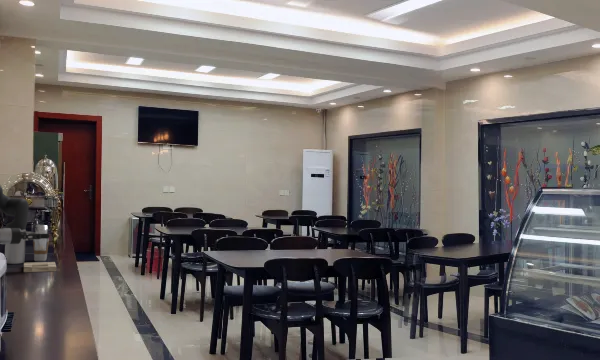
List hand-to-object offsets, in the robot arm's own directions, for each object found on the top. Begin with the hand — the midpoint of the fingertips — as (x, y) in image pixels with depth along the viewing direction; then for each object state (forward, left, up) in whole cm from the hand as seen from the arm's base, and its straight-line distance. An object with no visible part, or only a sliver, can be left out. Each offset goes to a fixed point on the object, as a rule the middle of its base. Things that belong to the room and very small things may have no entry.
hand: (46, 235), depth 278 cm
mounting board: (0, -3, -16) cm, 17 cm away
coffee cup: (-30, -16, -17) cm, 38 cm away
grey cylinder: (+2, -2, -7) cm, 7 cm away
